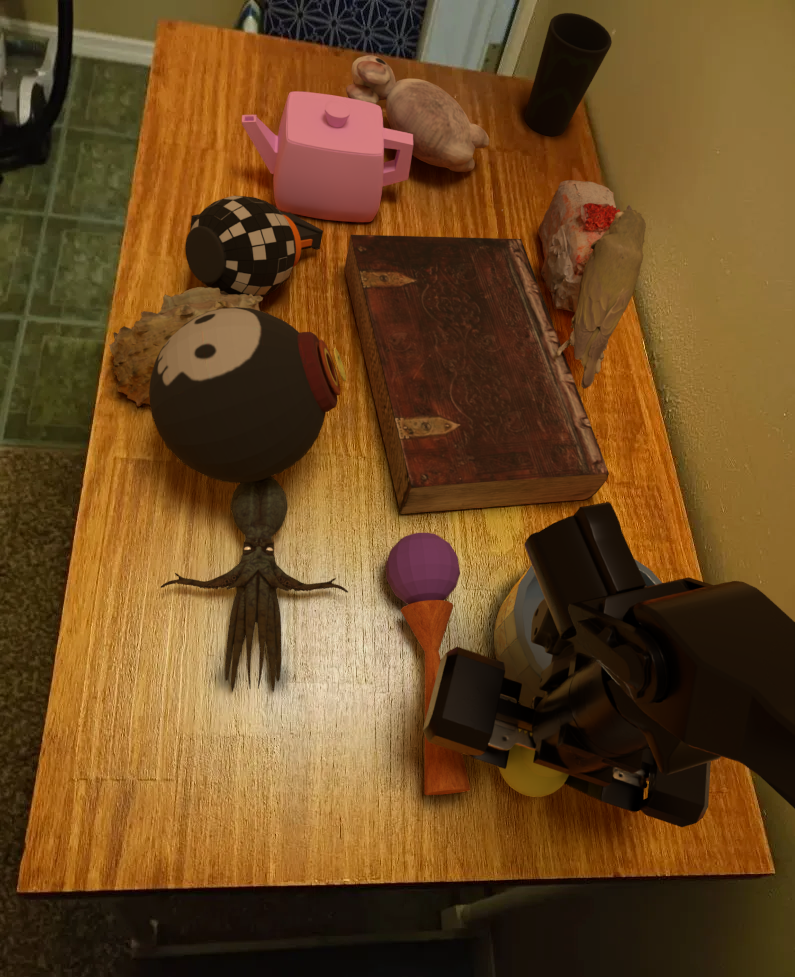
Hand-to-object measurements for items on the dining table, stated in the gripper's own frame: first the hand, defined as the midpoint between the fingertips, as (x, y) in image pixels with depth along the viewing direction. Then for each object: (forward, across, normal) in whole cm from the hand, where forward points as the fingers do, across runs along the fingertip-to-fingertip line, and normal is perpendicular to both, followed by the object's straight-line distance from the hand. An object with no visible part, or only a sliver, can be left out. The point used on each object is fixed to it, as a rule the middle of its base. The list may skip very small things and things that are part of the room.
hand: (526, 763), depth 61 cm
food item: (+2, +5, -54) cm, 54 cm away
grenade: (-5, +40, -33) cm, 52 cm away
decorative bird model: (-5, +3, -45) cm, 45 cm away
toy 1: (-5, +35, -15) cm, 38 cm away
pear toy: (+1, 0, 0) cm, 1 cm away
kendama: (+2, +9, -5) cm, 11 cm away
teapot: (+2, +34, -54) cm, 64 cm away
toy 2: (0, +20, -69) cm, 72 cm away
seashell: (+2, +37, -25) cm, 45 cm away
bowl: (+2, -3, -11) cm, 12 cm away
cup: (+2, +12, -81) cm, 82 cm away
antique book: (+2, +13, -35) cm, 37 cm away
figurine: (+2, +24, -7) cm, 25 cm away
